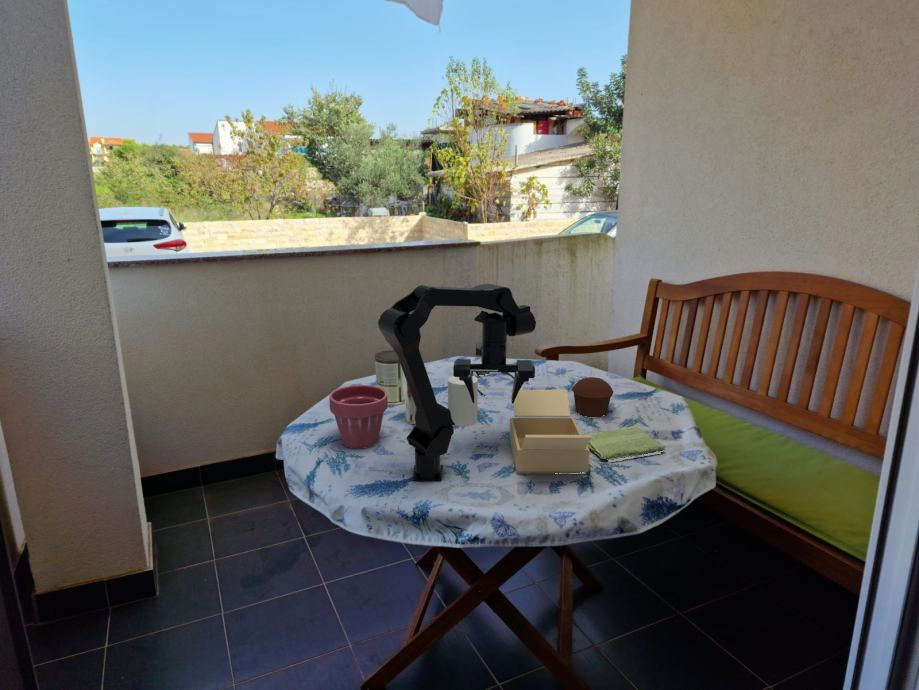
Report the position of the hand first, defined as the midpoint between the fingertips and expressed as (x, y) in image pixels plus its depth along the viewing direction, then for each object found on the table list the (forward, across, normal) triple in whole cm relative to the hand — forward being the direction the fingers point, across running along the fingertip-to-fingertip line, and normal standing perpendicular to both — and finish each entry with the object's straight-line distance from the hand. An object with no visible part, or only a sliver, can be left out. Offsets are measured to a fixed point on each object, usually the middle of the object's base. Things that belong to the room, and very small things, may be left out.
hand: (492, 402), depth 131 cm
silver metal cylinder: (+13, +21, -18) cm, 31 cm away
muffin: (+13, -29, -26) cm, 41 cm away
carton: (+13, -13, +1) cm, 18 cm away
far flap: (+4, -13, -10) cm, 16 cm away
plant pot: (+13, +33, -5) cm, 36 cm away
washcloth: (+14, -32, -4) cm, 35 cm away
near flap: (+4, -13, +12) cm, 19 cm away
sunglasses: (+13, 0, -48) cm, 50 cm away
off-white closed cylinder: (+13, +8, -19) cm, 24 cm away
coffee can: (+13, +29, -34) cm, 47 cm away
